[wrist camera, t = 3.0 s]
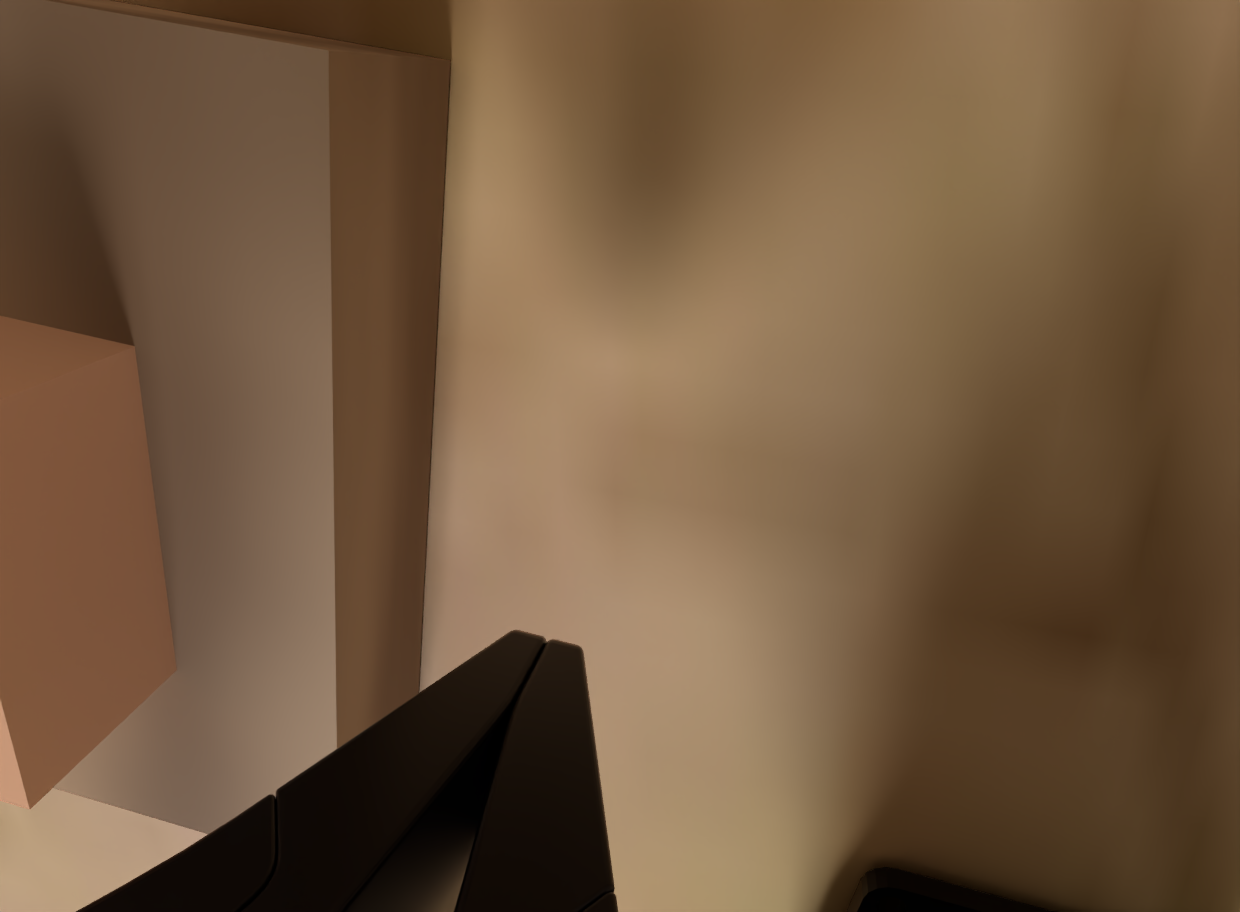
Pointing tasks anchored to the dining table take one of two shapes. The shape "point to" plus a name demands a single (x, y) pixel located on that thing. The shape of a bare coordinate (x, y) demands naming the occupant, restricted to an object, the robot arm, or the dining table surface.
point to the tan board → (243, 360)
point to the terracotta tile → (73, 554)
